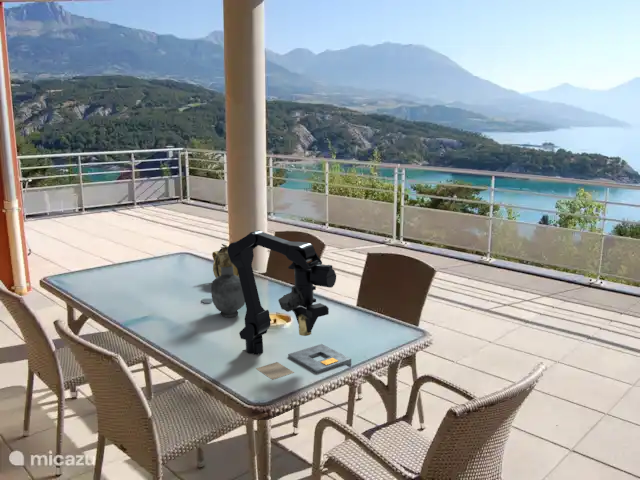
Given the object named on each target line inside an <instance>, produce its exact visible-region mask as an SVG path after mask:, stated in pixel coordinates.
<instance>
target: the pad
mask: <svg viewBox="0 0 640 480" xmlns="http://www.w3.org/2000/svg"><path fill="white" fill-rule="evenodd" d="M255 369H256V370H257V371H259V372H260V373H262V374H263V375H265V376H266V377H268V378H269V379H271V381H273V380H276V379H279V378H283V377H285V376H288V375H291V374H294V373H295V372H294V371H293V370H291V369H290V368H288V367H286V366H285V365H283V364H281V363H280V362H278V361H276V362H273V363H269V364H267V365H266V364H265V365H263V366H259V367H257V368H255Z"/></svg>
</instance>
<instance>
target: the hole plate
mask: <svg viewBox="0 0 640 480" xmlns="http://www.w3.org/2000/svg"><path fill="white" fill-rule="evenodd" d="M287 354H288V355H287V357H288V359H290V360H293V361H294V362H296V363H297V364H299V365H301V366H303V367H305V368H307V369H308V370H310V371H311V372H313V373H315V374H316V375H317V374H319V373H323V372H325V371H329V370H331V369H335V368H337V367H340V366H342V365H345V366H347V367H348V366H351V365H352V358H350V357H349V356H346V355H345V354H342V353H341V352H339V351H336V350H335V349H333V348H331V347H328V346H326V345H325V344H322V343H321V344H317V345H314V346H309V347H307V348H304V349H300V350H297V351H294V352H291V353H287ZM318 356H323V357H324V359H321V360H318V361H317V360H316V359H314V358H316V357H318Z"/></svg>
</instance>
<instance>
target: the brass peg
mask: <svg viewBox="0 0 640 480" xmlns="http://www.w3.org/2000/svg"><path fill="white" fill-rule="evenodd" d="M298 319H299V324H298V334H299V336H303V337H306V336H310V335H312V331H311V332H309V333H308V332H307V328H306V319H305V317H304V316H303V315H302V314H300V315H299V316H298Z"/></svg>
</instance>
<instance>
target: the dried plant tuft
mask: <svg viewBox="0 0 640 480" xmlns="http://www.w3.org/2000/svg"><path fill="white" fill-rule="evenodd" d="M218 251H219V250H216V251H215V250H214V251H212V253H211V255H212V258H213V263H212V269H213V270H212V272H213V275H214V277H215V279H216V278H217V277H218V275H217V271H216V268H215V256H216V255H217V254H218ZM218 267H219V268H218V269H219V275H220V276H221V267H220V258H218ZM233 274H234V275H236V276H238V277H239V274H238V270H237V268H236V267H235V266H234V264H233Z"/></svg>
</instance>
